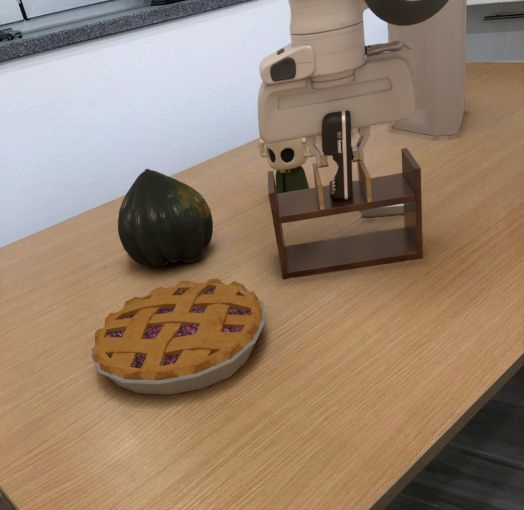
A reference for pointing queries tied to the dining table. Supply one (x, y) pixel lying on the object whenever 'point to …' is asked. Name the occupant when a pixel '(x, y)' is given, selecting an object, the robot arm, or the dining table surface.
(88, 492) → the dining table surface
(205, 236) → the squash
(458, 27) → the paper bag
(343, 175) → the battery charger
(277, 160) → the character mug
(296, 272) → the rack
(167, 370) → the pie
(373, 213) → the hard drive
